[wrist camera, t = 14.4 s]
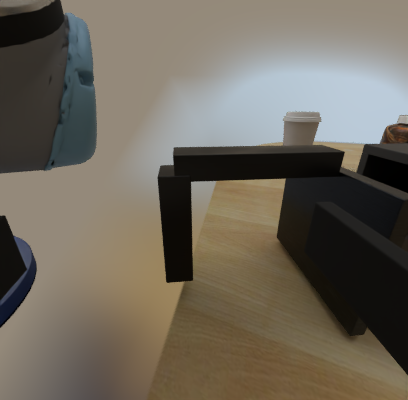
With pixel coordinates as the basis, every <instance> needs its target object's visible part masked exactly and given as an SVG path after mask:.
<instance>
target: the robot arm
mask: <svg viewBox="0 0 408 400" xmlns="http://www.w3.org/2000/svg"><path fill="white" fill-rule="evenodd" d="M93 81H94V76H93V58H92V49H91V42H90V35H89V31H88V27H87V24H86V23H85V22H84V21H83V20H82V19H80V18H78V17H75V15H73V14H72V13H65V15H64V14H63V10H62V6H61V1H60V0H0V173H11V172H23V171H34V170H35V171H36V170H44V171H46V170H51V169H52V168H55V167H62V166H69V165H76V164H81V163H83V162H86V161H87V160H89V159H90V158H91V157H92V156H93V154H94V152H95V148H96V137H97V123H96V122H97V121H96V99H95V88H94V84H93ZM304 252H305V253H306V254H307V255H308V257H309V258H310V259H311V260H312V261H313V263H314V264H315V265H316V266H317V267H318V269H319V270H320V271H321V272H322V273H323V275H324V276H325V277H326V278H327V279H328V281H329V282H330V283H331V284H332V285H333V286H334V288H335V289H336V290H337V291H338V292H339V294H340V295H341V296H342V297H343V298H344V300H345V301H346V302H347V303H348V304H349V306H350V307H351V308H352V309H353V310H354V312H355V313H356V314H357V315H358V316H359V317H360V319H361V320H362V321H363V322H364V323H365V325H366V326H367V327H368V328H369V329H370V331H371V332H372V333H373V334H374V335H375V337H376V338H377V339H378V340H379V341H380V343H381V344H382V345H383V346H384V347H385V349H386V350H387V351H388V352H389V353H390V354H391V356H392V357H393V358H394V359H395V360H396V362H397V363H398V364H399V365H400V366H401V368H402V369H403V370H404V371H405V372H406V374H407V375H408V252H406V251H405V250H403V249H402V248H400V247H399V246H397V245H396V244H394V243H393V242H391V241H390V240H388V239H387V238H385V237H384V236H382V235H381V234H379V233H378V232H376V231H375V230H373V229H372V228H370V227H369V226H367V225H366V224H364V223H363V222H361V221H359V220H358V219H356V218H355V217H353V216H352V215H350V214H349V213H347V212H346V211H344V210H343V209H341V208H340V207H338V206H337V205H335V204H334V203H332V202H315V207H314V211H313V215H312V219H311V224H310V228H309V232H308V236H307V241H306V245H305V249H304ZM26 271H27V268H26V266H25V263H24V261H23V258H22V256H21V253H20V251H19V248H18V246H17V244H16V241H15V239H14V236H13V234H12V231H11V229H10V226H9V224H8V221H7V219H6V217H5V216H0V300H1V299H2V298H3V297H4V296H5V295H6V293H7V292H8V291H9V290H10V289H11V288H12V287H13V285H14V284H15V283H16V282H17V281H18V280H19V279H20V277H21V276H22V275H23V274H24V273H25V272H26Z"/></svg>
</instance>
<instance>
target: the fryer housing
mask: <svg viewBox="0 0 408 400" xmlns="http://www.w3.org/2000/svg"><path fill="white" fill-rule="evenodd" d="M357 173H358V174H360V175H363V176H365V177H368V178H370V179H373V180H375V181H378V182H396V181H408V143H403V144H365V145H364V148H363V153H362V155H361V159H360V162H359V166H358V169H357Z"/></svg>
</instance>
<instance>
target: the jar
mask: <svg viewBox="0 0 408 400" xmlns="http://www.w3.org/2000/svg"><path fill="white" fill-rule="evenodd" d="M397 123H398V124H393V125H390V126H387V127H386V129H385V131H384V134H383V136H382V139H381V142H380V144H403V143H408V115H400V116H399V119H398V121H397Z"/></svg>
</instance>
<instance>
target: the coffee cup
mask: <svg viewBox="0 0 408 400" xmlns="http://www.w3.org/2000/svg"><path fill="white" fill-rule="evenodd" d="M283 121H284V138H283V139H284V140H283V146H292V145H313V141H314V138H315V134H316V131H317V128H318V124H319V122H321V117H320V114H319V112H287V114H286V116H285V117H284V118H283Z"/></svg>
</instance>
